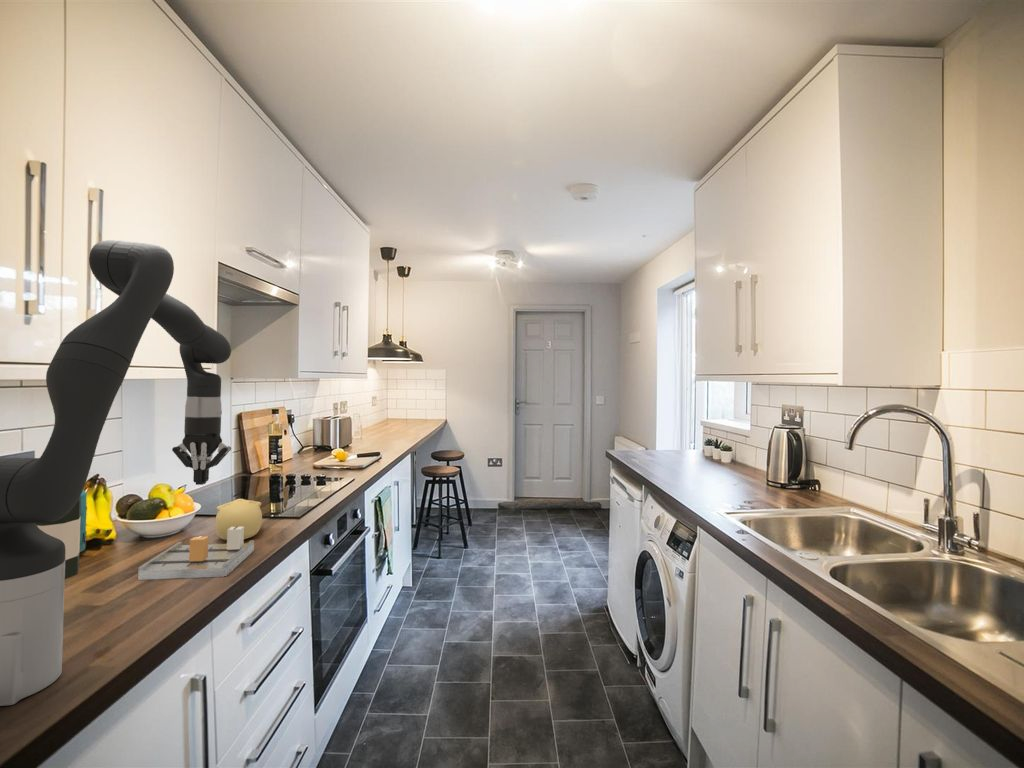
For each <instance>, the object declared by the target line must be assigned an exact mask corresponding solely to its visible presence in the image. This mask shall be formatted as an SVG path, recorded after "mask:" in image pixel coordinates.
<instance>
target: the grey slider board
mask: <svg viewBox="0 0 1024 768" xmlns="http://www.w3.org/2000/svg"><path fill="white" fill-rule="evenodd" d="M189 548H190V544H183V541H178V542H176V543H175V544H173V545H172V546H170V547H168V548H166V549H165V550H164V551H162V552H161V553H159V554H158V555H156V556H154V557H152V558H151V559H150V560H148V561H146V562H144V563H142V565H140V566H138V573H137V574H138V575H137V578H138V579H137V580H138V581H140V580H141V581H142V580H145V581H146V580H147V581H148V580H171V579H173V580H174V579H197V578H198V579H199V578H224V576H226V577H227V575H228V576H229V575H230V574H231V573H232V572H233V571H234V570H235V569H237V567H238V566H239V565H240V564H242V562H243V561H244V560H247V558H248V557H249V556H250V555H251V554H252V553H254V550H255V540H254V539H252V540H249V541H248V542H247V543H244V544H243V547H242V548H241V549H230V550H227V543H212V544H210V543H208V558H206V559H205V560H204V561H189Z"/></svg>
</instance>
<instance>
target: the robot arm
mask: <svg viewBox="0 0 1024 768" xmlns="http://www.w3.org/2000/svg"><path fill="white" fill-rule="evenodd" d="M89 251H90V252H89V256H88V257H89V258H88V261H89V263H88V265H89V268H90V271H91V272H92V274H93V276H94V277H95V279H96V280H97V281H98V282H99V283H100V284H101V285H102V286H104V287H105V288H106V289H108V290H109V291H111V292H112V293H114V294H115V295H117V296H118V297H117V298H116V299H115V300H114V301H113V302H112V303H111V304H109V305H108V306H107V307H105V308H103V309H102V310H101V311H99V312H96V314H94V315H92V316H91V317H90V318H87V319H86V320H84V321H83V322H81V323H80V324H79V325H77V326H76V327H74V328H73V329H72V330H71V331H70V332H69V333H67V334H66V336H65V337H64V338H63V340H61V343H60V344H59V346H58V348H57V350H56V352H55V354H54V356H53V358H52V359H51V361H50V363H49V365H48V367H47V370H46V374H45V380H46V381H45V382H46V383H45V385H46V387H47V388H46V389H47V392H48V396H49V400H50V402H51V405H52V410H53V413H54V426H53V428H52V433H51V435H50V438H49V440H48V442H47V445H46V447H45V448H44V450H43V452H42V454H41V455H40V457H3V458H0V707H3V706H5V707H6V706H13V705H15V704H17V703H18V702H19V701H21V700H22V699H24V698H27V697H29V696H31V695H34V694H36V693H38V692H40V691H42V690H44V689H45V688H47V687H48V686H50V685H52V684H53V683H54V682H55V681H57V680H58V678H60V676H61V675H62V671H63V670H62V669H63V648H64V647H63V644H64V643H63V640H64V639H63V638H64V609H65V608H64V607H65V605H64V604H65V580H66V579H65V553H66V550H65V544H64V543H63V542H62V541H61V540H59V539H57V538H55V537H53V536H50V535H48V534H46V533H44V532H43V531H42V530H40V529H39V528H38V527H37V525H36V524H35V523H47V522H53V521H56V520H58V519H61V518H62V517H64V516H65V515H66V514H68V513H69V512H70V511H71V509H72V508H73V507H74V506H75V504H76V503H77V501H78V499H79V498H80V496H81V494H82V491H83V490H84V489H85V486H86V483H87V481H88V478H89V474H90V471H91V467H92V463H93V460H94V457H95V453H96V449H97V447H98V443H99V440H100V437H101V434H102V430H103V429H104V426H105V423H106V421H107V418H108V415H109V412H110V411H111V408H112V406H113V403H114V401H115V398H116V396H117V394H118V392H119V390H120V388H121V385H122V384H123V382H124V379H125V377H126V375H127V372H128V371H129V368H130V366H131V364H132V360H133V358H134V355H135V352H136V349H137V348H138V345H139V343H140V341H141V339H142V337H143V335H144V333H145V330H146V329H147V326H148V324H149V322H150V320H151V319H152V320H153V321H154V322H156V323H157V324H158V325H159V326H160V327H161V328H162V329H164V331H165V332H166V333H167V334H168V335H169V336H170V337H171V338H172V339H173V340H174V341H175V342H176V343H178V344H179V349H178V350H179V355H180V358H181V360H182V365H183V367H184V368H183V369H184V371H185V375H186V376H185V377H186V381H187V383H186V384H187V385H186V386H187V387H186V401H185V405H184V431H183V432H184V437H183V438H182V442H181V443H180V444H179V445H177V446H174V447H172V448H171V450H172V452H173V454H175V456H176V457H177V458H178V459H179V461H180V462H181V463H182V464H183V465H184V466H185V468H190V469H192V470H193V477H192V478H193V480H192V481H193V483H195V485H198V486H201V485H202V486H203V485H206V483H207V482H208V481H209V478H210V477H209V475H210V468H213V467H216V466H218V465H219V464H220V463H221V462H222V460H223V459H224V458H225V457H226V456H227V455H228V454H229V452H230V451H232V447H231V446H229V445H225V444H224V443H223V439H222V437H221V433H222V431H221V429H222V414H223V411H222V410H223V409H222V400H221V399H222V398H221V395H222V378H221V376H220V375H219V374H216V373H214V372H209V371H206V370H205V369H204V367H203V366H202V364H212V365H215V364H217V365H218V364H222V363H223V364H224V363H226V362H227V361H228V360H229V358H230V357H231V355H232V354H231V353H232V348H231V344H230V343H229V340H228V339H227V338H226V337H225V336H224V335H223V334H221V332H219V331H217V330H216V329H214V328H212V327H210V326H209V325H207V324H205V323H204V321H203V320H202V318H200V316H199V315H198V314H197V313H196V312H195V311H194V310H193V309H192V308H191V307H190V306H188V305H187V304H185V303H184V302H183V301H180V300H179V299H178V298H175V297H173V296H171V295H170V294H168V293H167V292H168V290H169V288H170V286H171V284H172V280H173V277H174V272H175V271H174V270H175V266H174V263H175V262H174V259H173V257H172V255H171V253H170V252H169V251H168V250H167V249H166V248H164V247H162V246H160V245H156V244H154V243H153V244H152V243H145V242H137V241H136V242H135V241H127V240H114V239H113V240H111V239H109V240H102V241H98V242H97V243H95V244H94V245H93V246H92V248H91V250H89ZM216 450H217V454H216V455H215V456H214V457H213V454H214V453H215V452H216ZM187 451H188V452H189V453H188V452H187Z"/></svg>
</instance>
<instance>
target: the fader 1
mask: <svg viewBox="0 0 1024 768" xmlns="http://www.w3.org/2000/svg"><path fill="white" fill-rule="evenodd" d="M208 544H209V536H208V535H207V536H202V535H200V536H194V537H192V538H191V539H189V545H190V548H189V561H204V560H205V559H206V558H208Z"/></svg>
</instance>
